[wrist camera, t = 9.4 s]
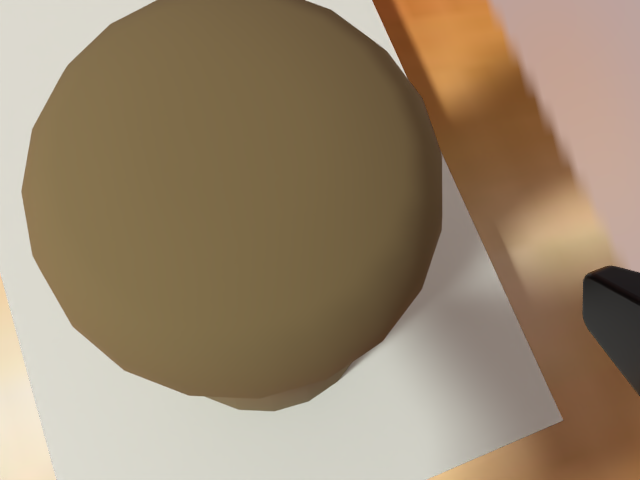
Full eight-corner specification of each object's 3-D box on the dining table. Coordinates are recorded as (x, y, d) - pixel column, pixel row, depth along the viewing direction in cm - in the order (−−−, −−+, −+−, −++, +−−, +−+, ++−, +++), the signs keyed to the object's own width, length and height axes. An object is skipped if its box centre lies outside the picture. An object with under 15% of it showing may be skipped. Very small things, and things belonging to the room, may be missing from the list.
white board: (547, 418, 18) (563, 420, 17) (107, 608, 16) (95, 622, 15) (323, -80, 21) (325, -103, 20) (-55, 26, 19) (-72, 7, 18)
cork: (357, 187, 18) (466, -116, 7) (385, 398, 16) (575, 407, 6) (148, 206, 17) (-66, -91, 7) (159, 425, 16) (-91, 491, 5)
